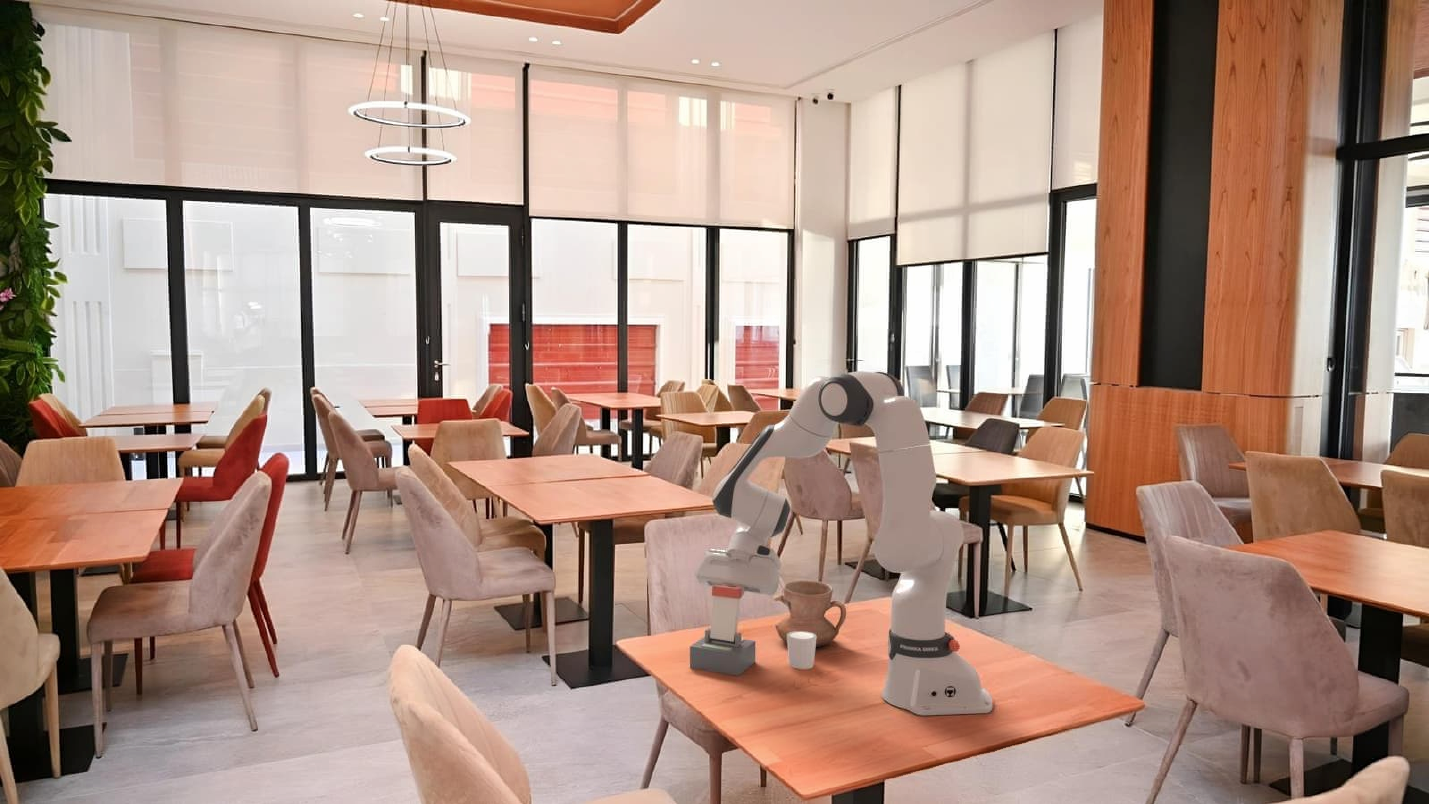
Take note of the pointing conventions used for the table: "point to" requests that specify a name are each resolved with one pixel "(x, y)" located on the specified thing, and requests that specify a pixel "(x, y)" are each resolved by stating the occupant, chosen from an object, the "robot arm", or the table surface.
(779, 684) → the table surface
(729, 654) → the switch box
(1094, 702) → the table surface
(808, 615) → the ceramic jug
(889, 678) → the robot arm
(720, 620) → the lever
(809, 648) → the shot glass
